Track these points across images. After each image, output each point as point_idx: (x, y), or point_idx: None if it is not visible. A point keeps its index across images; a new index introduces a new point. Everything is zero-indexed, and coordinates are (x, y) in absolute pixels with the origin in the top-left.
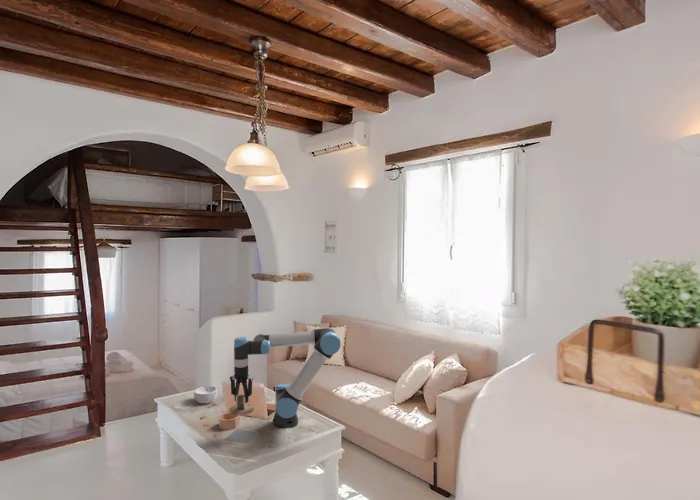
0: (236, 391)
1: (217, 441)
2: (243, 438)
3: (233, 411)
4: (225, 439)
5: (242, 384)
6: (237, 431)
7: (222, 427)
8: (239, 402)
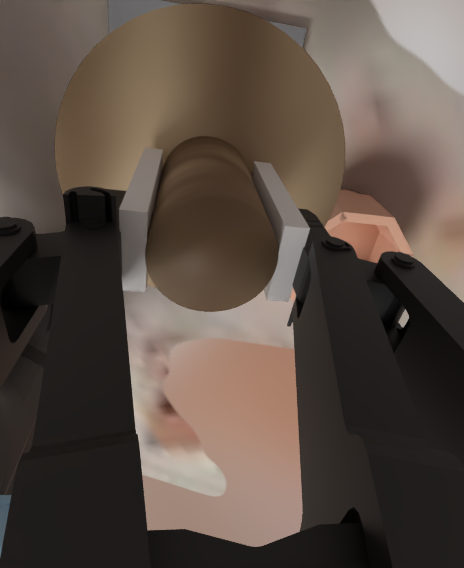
0: (326, 284)
1: (346, 14)
2: None
3: (273, 69)
4: (294, 38)
5: (112, 454)
6: None
7: (358, 195)
8: (219, 164)
